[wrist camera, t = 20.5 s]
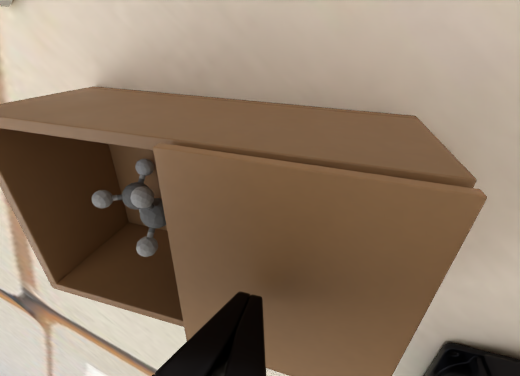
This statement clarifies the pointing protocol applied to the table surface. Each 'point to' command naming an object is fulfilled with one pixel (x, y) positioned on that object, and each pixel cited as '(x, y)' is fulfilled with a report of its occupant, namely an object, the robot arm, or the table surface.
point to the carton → (141, 147)
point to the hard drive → (5, 3)
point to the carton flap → (311, 253)
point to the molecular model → (139, 206)
